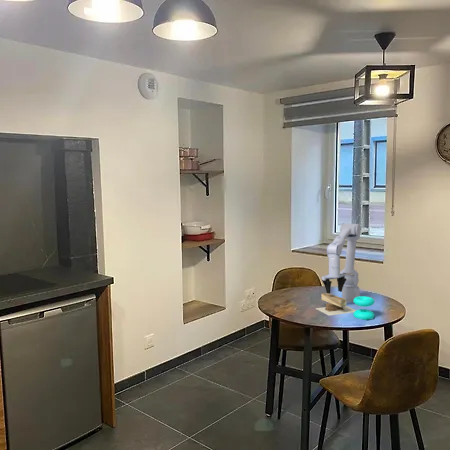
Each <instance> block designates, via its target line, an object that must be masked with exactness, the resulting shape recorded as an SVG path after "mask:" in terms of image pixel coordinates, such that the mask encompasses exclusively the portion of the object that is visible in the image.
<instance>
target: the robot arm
mask: <svg viewBox="0 0 450 450" xmlns="http://www.w3.org/2000/svg"><path fill="white" fill-rule="evenodd" d="M339 227H340V229H339V231H340V233H339V235H337V236H335V238H334V239H333V240H332V242H331V243H329V244H327V246H326V254H327V258H328V274H327V275H322V276H321V282H322V283H323V285H324V289H325V291H326V292H325V293H328V294H331V288H332V287H331V285H332V283H333V282H332V281H333V280H335V279H336V281H337V291H338V292H340V293H341V298H344V299H346V304H348V303H354V301H353V300H354V298H355V297H358V296H361V289H360V287H359V282H360V281H359V273H358V271H357V270H355V268H354V267H355V257H356V248H357V241H358V240H360V237H361V225H360V224H359V223H345V222H343V223H341V224H340V226H339ZM346 240H347V245H346V251H345V252H346V253H345V264H344V268H343V269H342V270H341V269H340V268H341V265H340V264H341V261H340V260H341V254H342V252H343V251H342V250H343V247H344V245H345V244H346ZM331 280H332V281H331Z"/></svg>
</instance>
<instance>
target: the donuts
mask: <svg viewBox="0 0 450 450" xmlns="http://www.w3.org/2000/svg"><path fill="white" fill-rule="evenodd" d="M353 301H354V302H353V303H354V304H355V305H356V306H358V307H364V308H365V307H372V306H373V305H374V304H375V299H374V298H372V297H371V296H366V295H365V296H364V295H363V296H362V295H360V296H358V297H355V298H354V300H353ZM364 308H363V309H362V308H360V309H355V310H356V311H355V312H353V313H352V315H353V317H354V318H356V319H357V320H358V319H359V320H362V321H369V320H372V319H374V318H375V312H373V311H372V310H370V309H364Z"/></svg>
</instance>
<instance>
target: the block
mask: <svg viewBox="0 0 450 450" xmlns="http://www.w3.org/2000/svg"><path fill="white" fill-rule="evenodd" d="M325 307H326V309H325V310H327V311H329V312H331V311H339V310H344V309H343V307H340V306H337V305H334V304H331V303H328V302H327V303H325Z"/></svg>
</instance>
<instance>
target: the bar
mask: <svg viewBox="0 0 450 450" xmlns="http://www.w3.org/2000/svg"><path fill="white" fill-rule="evenodd" d="M321 301H324V302H327V303H331V304H334V305H337V306H340V307H344V306H347V303H346V299H344V298H342V296H341V297H340V296H337V295H335V294H332V293H330V294H328V293H327V292H324V293H321Z"/></svg>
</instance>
